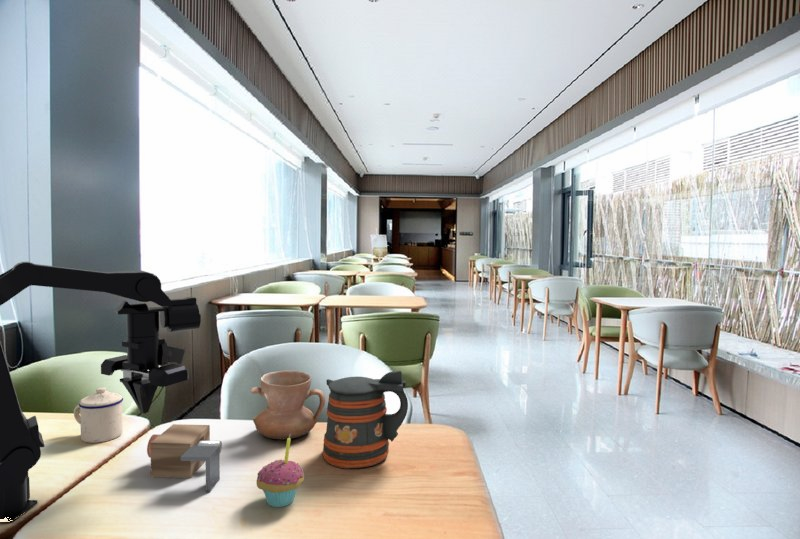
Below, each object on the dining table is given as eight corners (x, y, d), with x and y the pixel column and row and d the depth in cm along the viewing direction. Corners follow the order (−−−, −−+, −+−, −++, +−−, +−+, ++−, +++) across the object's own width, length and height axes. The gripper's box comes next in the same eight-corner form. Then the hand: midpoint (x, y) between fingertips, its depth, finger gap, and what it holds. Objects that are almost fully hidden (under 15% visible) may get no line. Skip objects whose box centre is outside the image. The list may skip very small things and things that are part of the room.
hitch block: (190, 477, 102) (190, 443, 102) (150, 476, 102) (150, 442, 102) (209, 456, 112) (209, 425, 112) (173, 455, 112) (173, 424, 112)
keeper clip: (210, 491, 96) (209, 457, 96) (181, 491, 96) (180, 456, 96) (219, 479, 101) (219, 446, 101) (192, 478, 101) (191, 445, 101)
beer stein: (412, 445, 119) (413, 361, 118) (402, 474, 105) (404, 379, 104) (333, 439, 122) (334, 357, 121) (313, 466, 108) (314, 373, 107)
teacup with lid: (132, 430, 126) (131, 384, 125) (104, 445, 117) (102, 395, 116) (90, 426, 128) (89, 380, 127) (59, 440, 119) (58, 391, 118)
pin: (215, 462, 105) (215, 441, 104) (147, 461, 105) (146, 439, 104) (223, 453, 109) (223, 432, 109) (158, 452, 109) (157, 431, 109)
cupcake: (285, 484, 100) (285, 424, 99) (314, 499, 94) (314, 436, 94) (247, 502, 93) (246, 438, 92) (275, 519, 88) (275, 451, 87)
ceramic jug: (242, 444, 118) (243, 384, 117) (258, 421, 133) (259, 367, 132) (320, 446, 119) (321, 387, 118) (327, 423, 133) (328, 369, 132)
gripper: (209, 332, 103) (210, 408, 104) (148, 324, 112) (149, 394, 113) (162, 342, 93) (163, 426, 94) (98, 332, 102) (100, 409, 103)
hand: (144, 412), depth 101 cm, fingers closed
